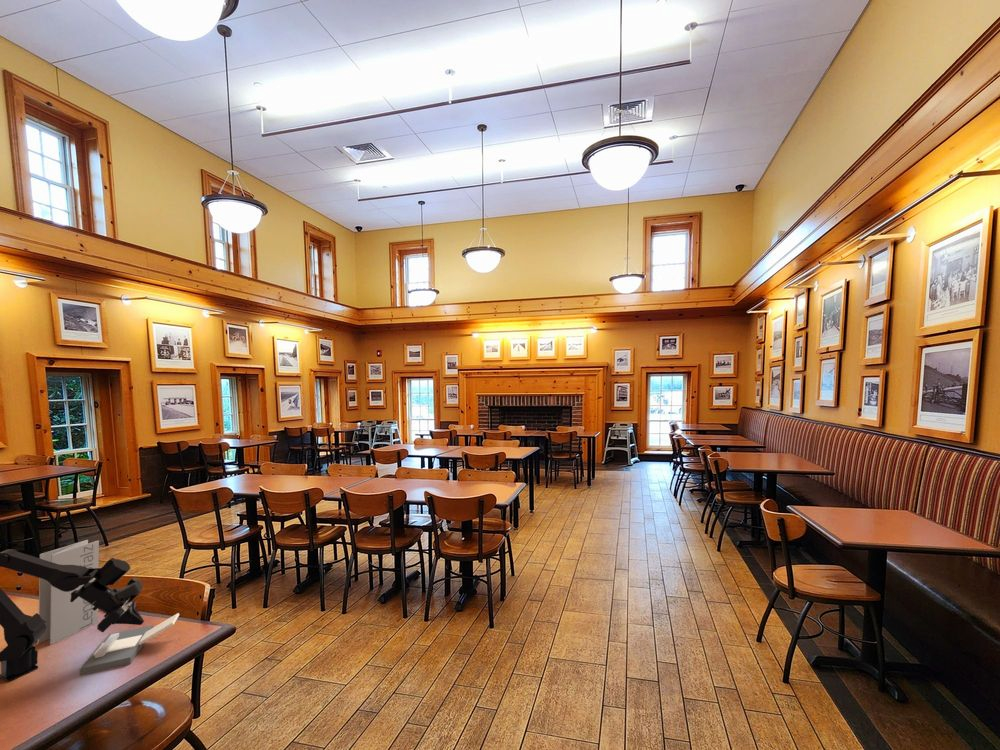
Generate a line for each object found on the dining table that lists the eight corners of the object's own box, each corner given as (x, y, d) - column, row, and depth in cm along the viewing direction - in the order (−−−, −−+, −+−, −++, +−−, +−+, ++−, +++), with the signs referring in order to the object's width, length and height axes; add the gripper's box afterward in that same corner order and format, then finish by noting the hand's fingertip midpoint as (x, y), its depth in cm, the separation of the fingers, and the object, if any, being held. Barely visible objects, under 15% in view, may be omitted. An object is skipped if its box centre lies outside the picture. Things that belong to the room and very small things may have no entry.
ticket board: (80, 675, 127) (80, 663, 127) (109, 639, 145) (109, 629, 145) (130, 663, 132) (130, 652, 132) (152, 630, 150) (152, 621, 150)
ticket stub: (138, 643, 138) (172, 622, 142) (145, 632, 144) (178, 612, 148) (139, 645, 138) (173, 624, 142) (147, 634, 144) (179, 614, 148)
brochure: (50, 644, 143) (51, 555, 144) (38, 643, 144) (39, 554, 145) (98, 622, 157) (98, 540, 158) (86, 620, 158) (87, 539, 159)
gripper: (111, 587, 131) (154, 615, 135) (134, 564, 148) (172, 590, 152) (77, 618, 128) (122, 646, 132) (104, 592, 145) (144, 617, 149)
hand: (142, 623), depth 141 cm, fingers closed
